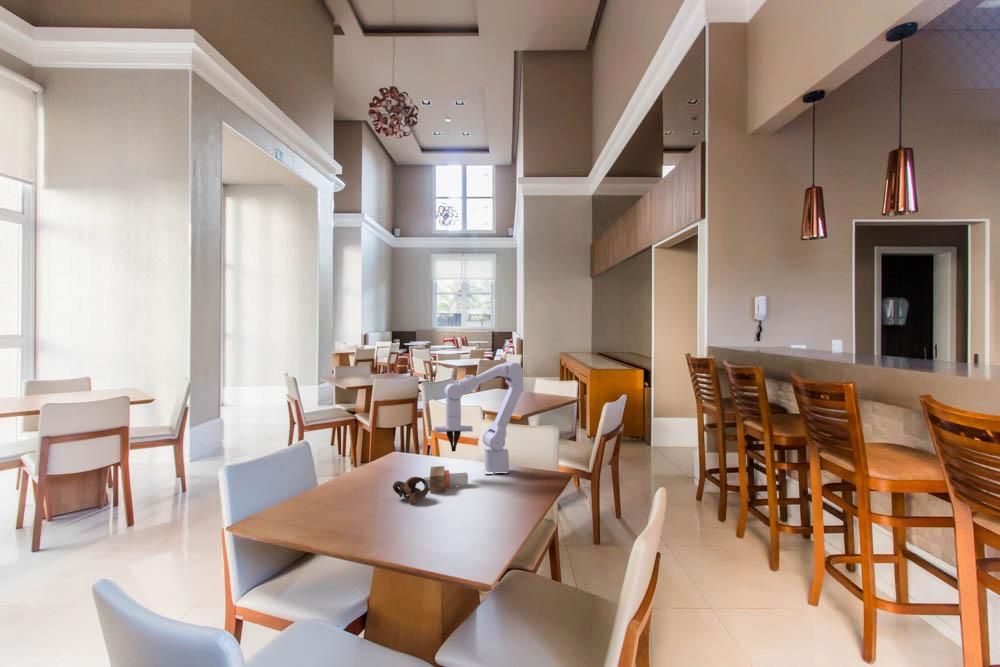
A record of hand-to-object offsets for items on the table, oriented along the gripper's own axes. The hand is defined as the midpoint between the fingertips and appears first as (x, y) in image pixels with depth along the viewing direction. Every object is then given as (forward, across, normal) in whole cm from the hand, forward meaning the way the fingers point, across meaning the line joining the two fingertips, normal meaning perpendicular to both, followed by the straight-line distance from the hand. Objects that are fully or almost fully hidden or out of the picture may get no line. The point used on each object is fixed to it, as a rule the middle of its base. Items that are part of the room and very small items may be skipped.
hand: (453, 450), depth 182 cm
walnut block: (+10, +6, +12) cm, 17 cm away
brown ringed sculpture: (+10, +15, +23) cm, 29 cm away
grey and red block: (+10, +4, +11) cm, 15 cm away
